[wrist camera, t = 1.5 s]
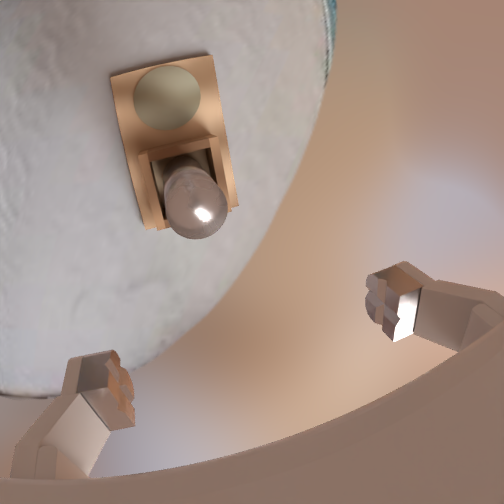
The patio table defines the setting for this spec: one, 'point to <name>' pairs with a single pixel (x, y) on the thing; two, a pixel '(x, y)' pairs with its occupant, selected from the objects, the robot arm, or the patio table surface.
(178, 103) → the pocket board
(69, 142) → the patio table surface
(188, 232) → the peg
